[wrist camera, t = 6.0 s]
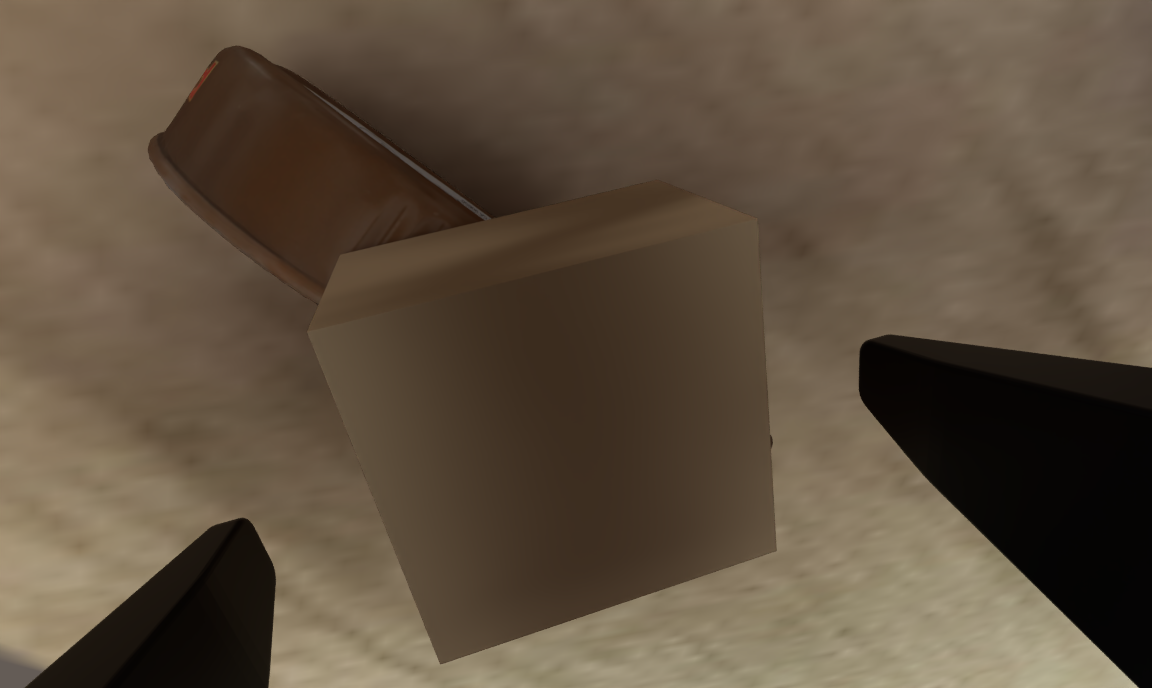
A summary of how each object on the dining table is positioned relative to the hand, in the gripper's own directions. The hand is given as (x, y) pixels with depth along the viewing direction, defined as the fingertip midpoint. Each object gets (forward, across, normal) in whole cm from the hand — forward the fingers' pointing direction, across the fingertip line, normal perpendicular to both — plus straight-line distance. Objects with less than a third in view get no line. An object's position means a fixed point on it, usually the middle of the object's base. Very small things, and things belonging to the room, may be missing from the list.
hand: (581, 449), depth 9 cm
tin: (+11, 0, 0) cm, 11 cm away
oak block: (+2, 0, 0) cm, 2 cm away
